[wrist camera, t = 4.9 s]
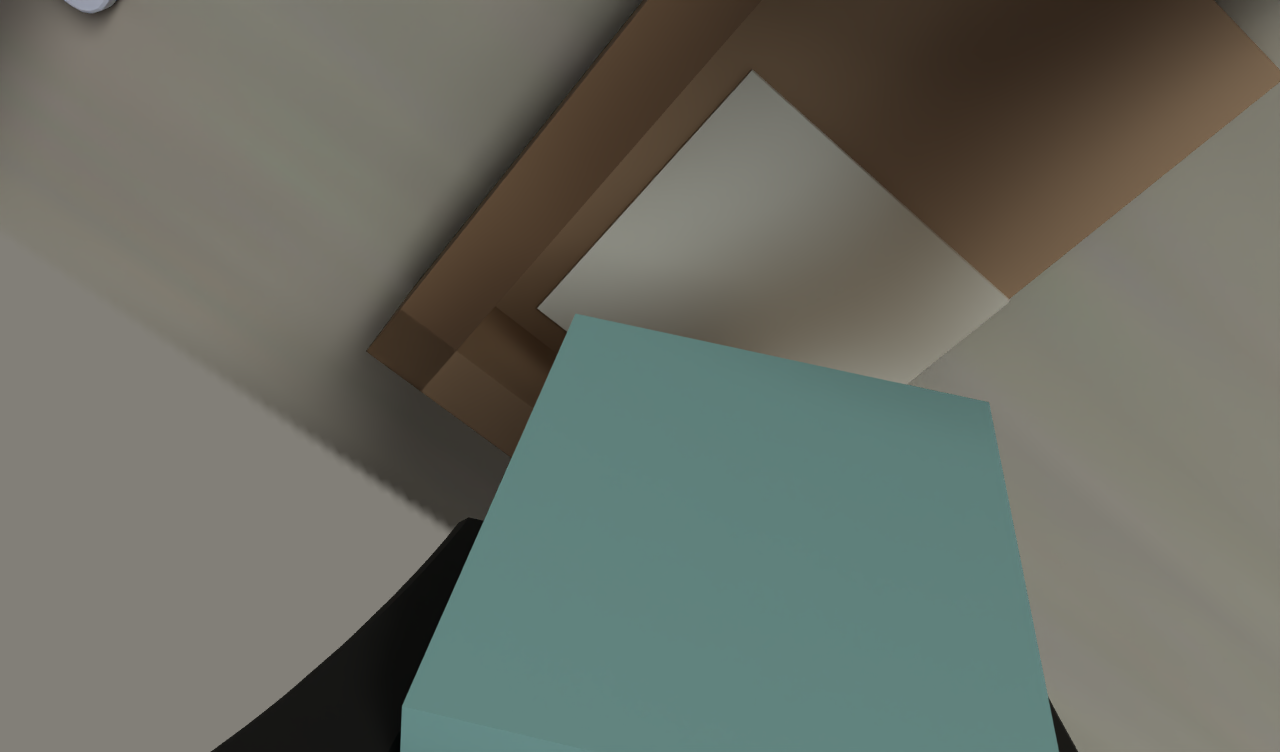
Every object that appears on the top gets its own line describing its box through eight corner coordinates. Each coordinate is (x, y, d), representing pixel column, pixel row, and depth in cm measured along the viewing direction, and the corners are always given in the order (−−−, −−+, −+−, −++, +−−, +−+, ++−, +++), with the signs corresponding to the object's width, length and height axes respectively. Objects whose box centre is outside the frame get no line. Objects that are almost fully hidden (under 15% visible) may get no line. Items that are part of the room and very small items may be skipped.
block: (536, 606, 16) (388, 1035, 11) (575, 313, 13) (401, 705, 8) (877, 685, 15) (893, 1163, 10) (992, 403, 13) (1090, 870, 8)
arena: (412, 289, 21) (366, 351, 19) (903, -326, 14) (912, -329, 13) (716, 520, 23) (703, 599, 21) (1274, 67, 16) (1334, 118, 14)
